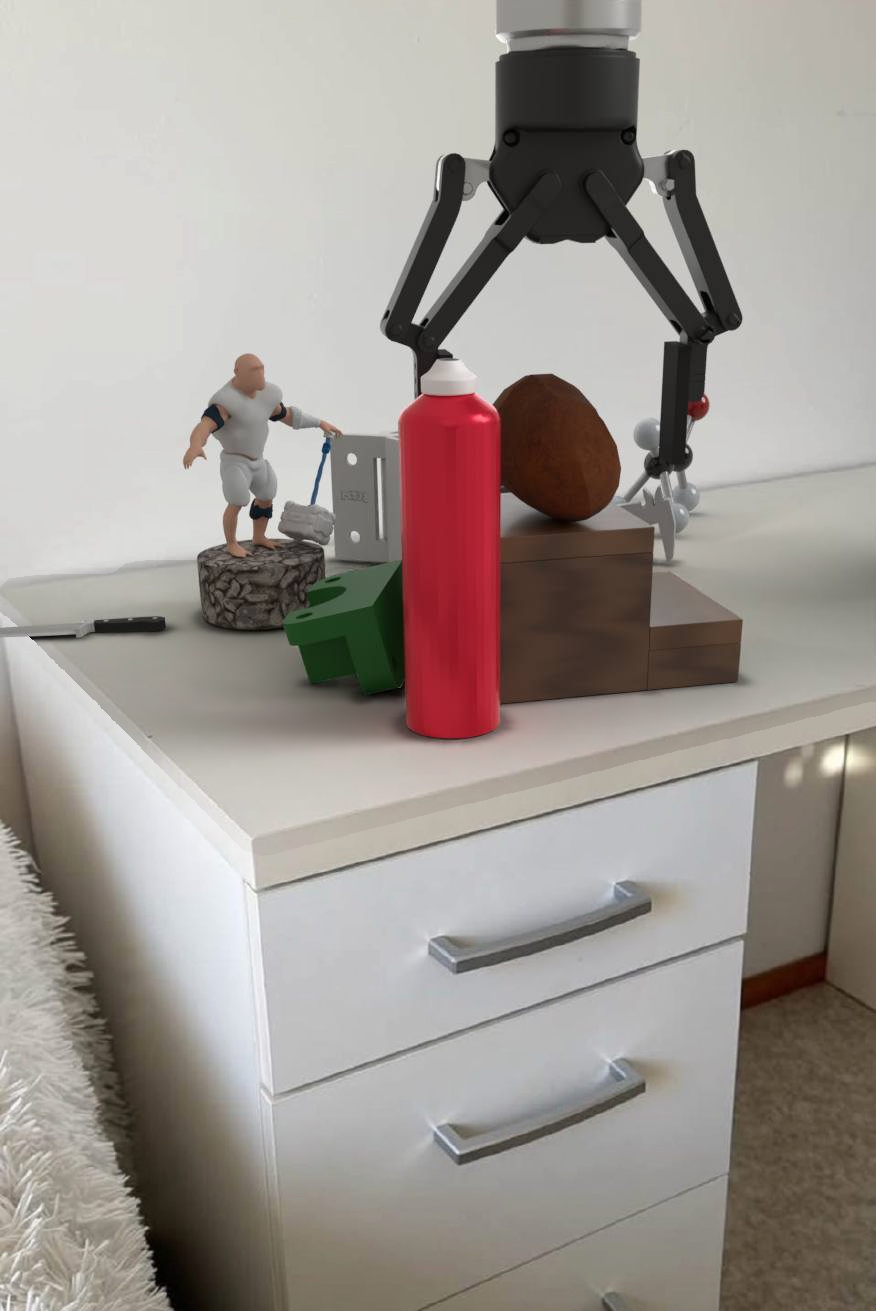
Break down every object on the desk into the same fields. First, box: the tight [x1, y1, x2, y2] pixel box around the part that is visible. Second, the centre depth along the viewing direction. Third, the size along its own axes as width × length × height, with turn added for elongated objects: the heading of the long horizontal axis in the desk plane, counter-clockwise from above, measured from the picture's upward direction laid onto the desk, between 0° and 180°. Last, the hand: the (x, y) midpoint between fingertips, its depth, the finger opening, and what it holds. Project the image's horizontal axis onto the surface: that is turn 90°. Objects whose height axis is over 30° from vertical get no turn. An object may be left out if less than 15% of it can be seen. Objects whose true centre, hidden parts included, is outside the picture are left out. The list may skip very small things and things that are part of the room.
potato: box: [491, 373, 622, 522], centre depth 85 cm, size 8×12×8 cm, turn 20°
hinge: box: [329, 429, 402, 563], centre depth 112 cm, size 14×5×10 cm, turn 46°
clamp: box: [282, 559, 405, 695], centre depth 90 cm, size 12×6×9 cm, turn 166°
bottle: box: [397, 357, 501, 739], centre depth 78 cm, size 6×5×20 cm
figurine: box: [182, 352, 343, 630], centre depth 99 cm, size 15×9×18 cm, turn 141°
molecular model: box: [612, 393, 711, 535], centre depth 126 cm, size 8×12×11 cm
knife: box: [0, 615, 167, 639], centre depth 99 cm, size 15×1×2 cm
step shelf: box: [500, 493, 744, 705], centre depth 89 cm, size 16×12×10 cm
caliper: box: [617, 484, 676, 562], centre depth 115 cm, size 20×1×6 cm, turn 76°
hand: (558, 466), depth 83 cm, fingers open, 13 cm apart
